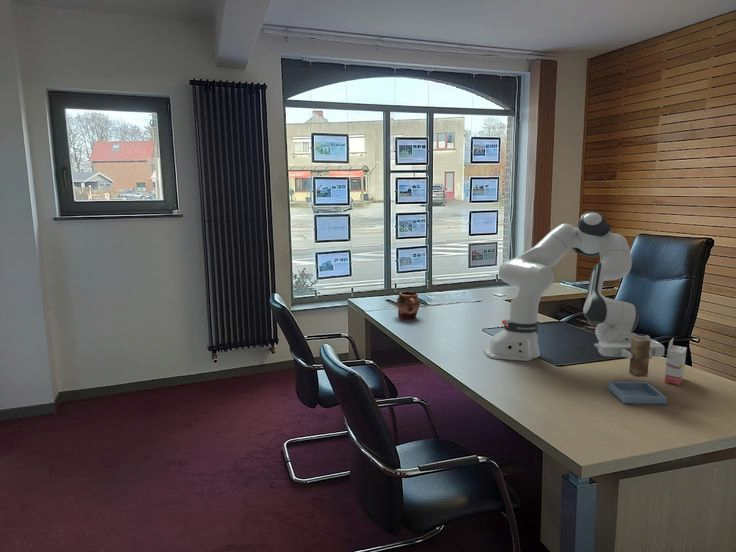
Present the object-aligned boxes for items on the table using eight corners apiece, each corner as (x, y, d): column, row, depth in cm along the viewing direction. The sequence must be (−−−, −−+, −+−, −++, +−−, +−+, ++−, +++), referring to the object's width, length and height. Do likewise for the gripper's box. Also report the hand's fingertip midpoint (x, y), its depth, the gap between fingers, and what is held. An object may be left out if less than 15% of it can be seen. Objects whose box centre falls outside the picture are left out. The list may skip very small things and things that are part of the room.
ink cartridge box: (680, 385, 173) (684, 344, 170) (664, 382, 176) (667, 342, 174) (684, 378, 179) (688, 339, 177) (668, 375, 182) (672, 336, 180)
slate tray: (623, 404, 158) (624, 396, 158) (607, 388, 171) (607, 381, 171) (666, 404, 158) (666, 397, 157) (646, 389, 170) (647, 382, 170)
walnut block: (634, 376, 161) (637, 341, 159) (629, 372, 165) (631, 337, 163) (647, 376, 161) (650, 341, 159) (641, 372, 165) (644, 337, 163)
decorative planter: (426, 321, 263) (426, 295, 260) (404, 323, 259) (404, 297, 257) (411, 313, 281) (411, 288, 279) (391, 314, 278) (391, 290, 275)
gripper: (592, 334, 175) (608, 347, 162) (652, 334, 174) (674, 347, 160) (591, 352, 176) (607, 365, 163) (651, 352, 175) (672, 365, 161)
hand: (640, 356), depth 161 cm, fingers closed on walnut block, 4 cm apart
